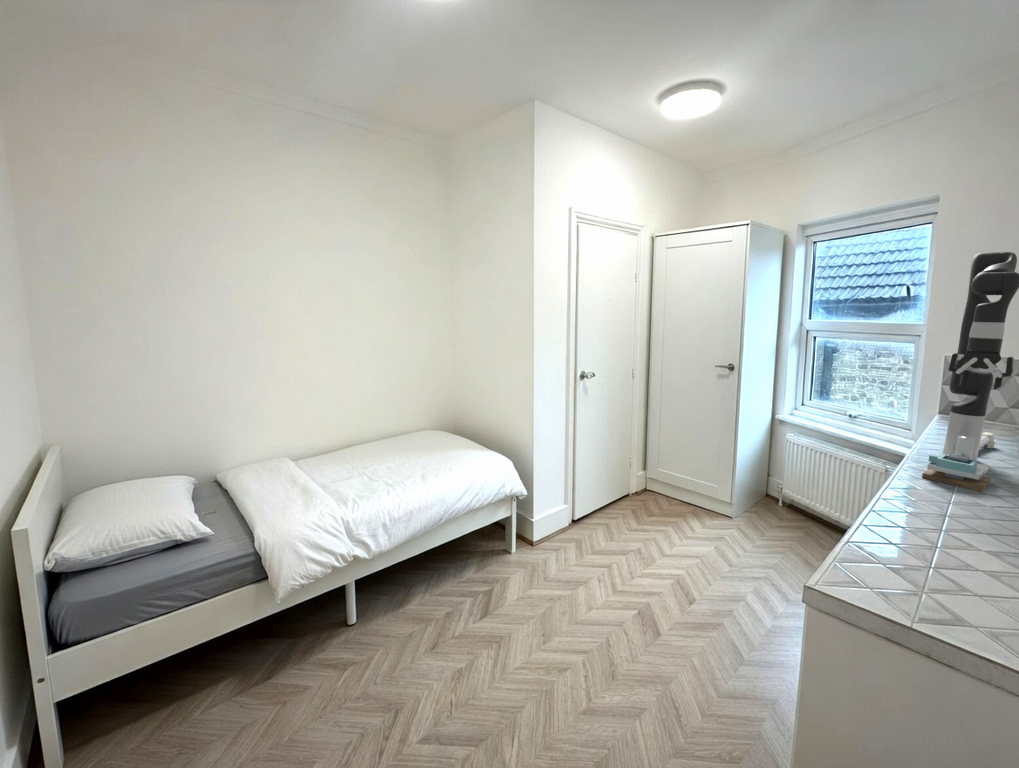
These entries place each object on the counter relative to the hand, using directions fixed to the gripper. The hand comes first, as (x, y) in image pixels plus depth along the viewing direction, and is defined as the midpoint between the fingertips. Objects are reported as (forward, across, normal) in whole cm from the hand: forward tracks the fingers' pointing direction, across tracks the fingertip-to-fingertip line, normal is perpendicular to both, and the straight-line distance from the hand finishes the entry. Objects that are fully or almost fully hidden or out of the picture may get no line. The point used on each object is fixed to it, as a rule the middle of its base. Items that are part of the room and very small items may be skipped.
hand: (976, 387), depth 148 cm
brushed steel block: (+29, 0, +10) cm, 30 cm away
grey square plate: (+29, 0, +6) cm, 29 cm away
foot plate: (+30, 0, +6) cm, 31 cm away
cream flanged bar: (+31, +3, -47) cm, 56 cm away
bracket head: (+25, +1, +9) cm, 27 cm away
